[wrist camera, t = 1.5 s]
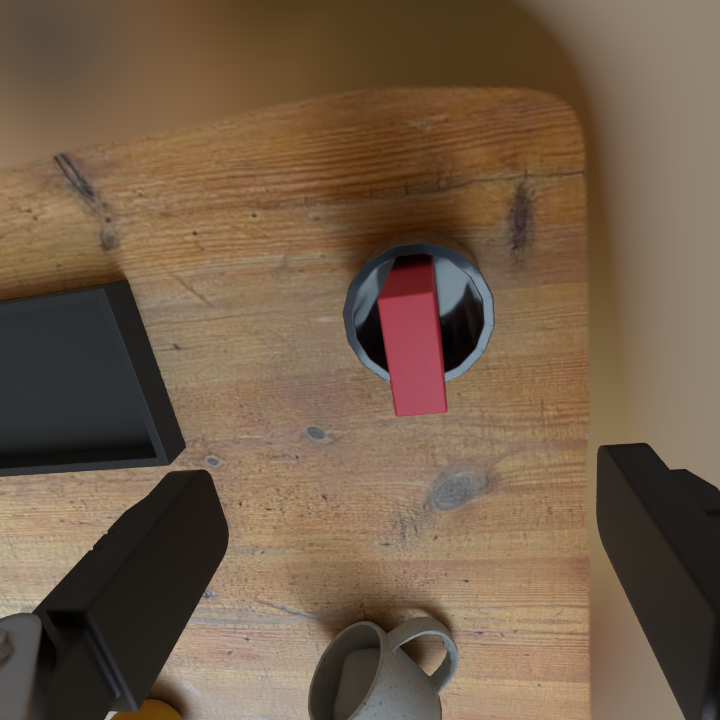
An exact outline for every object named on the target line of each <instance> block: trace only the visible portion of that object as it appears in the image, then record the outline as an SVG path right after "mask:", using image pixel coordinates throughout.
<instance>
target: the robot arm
mask: <svg viewBox="0 0 720 720" xmlns="http://www.w3.org/2000/svg"><path fill="white" fill-rule="evenodd" d="M596 505H597V506H596V515H597V524H598V530H599V534H600V538H601V541H602V544H603V546H604V549H605V551H606V553H607V555H608V557H609V559H610V562H611V564H612V565H613V568H614V570H615V572H616V574H617V576H618V578H619V580H620V583H621V585H622V587H623V589H624V591H625V593H626V595H627V597H628V599H629V601H630V604H631V605H632V607H633V610H634V612H635V614H636V616H637V618H638V620H639V623H640V624H641V627H642V629H643V631H644V633H645V635H646V637H647V639H648V641H649V644H650V646H651V648H652V650H653V652H654V654H655V656H656V658H657V660H658V662H659V665H660V667H661V669H662V671H663V673H664V675H665V677H666V679H667V681H668V684H669V686H670V688H671V690H672V692H673V694H674V696H675V698H676V700H677V702H678V705H679V707H680V709H681V711H682V713H683V715H684V717H685V719H686V720H720V491H719V490H718V488H717V487H715V486H713V485H712V484H710V483H708V482H706V481H705V480H703V479H701V478H700V477H698V476H696V475H695V474H693V473H691V472H689V471H688V470H686V469H676V470H670V469H669V468H668V467H667V466H666V465H665V463H664V462H663V461H662V460H661V459H660V457H659V456H658V455H657V454H656V453H655V451H654V450H653V449H652V448H651V447H650V446H649V445H648V444H646V443H633V444H618V445H603V446H600V447H599V449H598V454H597V502H596ZM228 539H229V531H228V525H227V522H226V519H225V516H224V513H223V510H222V507H221V504H220V501H219V498H218V495H217V492H216V489H215V486H214V483H213V480H212V477H211V475H210V474H209V472H208V471H206V470H186V471H172V472H170V473H168V474H167V475H166V476H165V477H164V478H163V479H162V480H161V481H160V482H159V483H158V485H157V486H156V487H155V488H154V489H153V490H152V491H151V492H150V493H149V495H148V496H147V497H145V498H144V499H142V500H141V501H139V502H138V503H137V504H135V505H134V506H132V507H131V508H130V509H128V510H127V511H125V512H124V513H123V514H122V516H121V517H120V518H119V519H118V520H117V521H116V522H115V523H114V524H113V525H112V526H111V527H110V528H109V530H108V533H107V534H104V535H103V536H102V537H101V538H100V539H99V540H98V541H97V543H96V544H95V545H94V546H93V550H89V551H88V552H87V553H86V554H85V556H84V557H83V558H82V559H81V560H80V561H79V562H78V563H77V564H76V565H75V566H74V567H73V569H72V570H71V571H70V572H69V573H68V574H67V575H66V576H65V577H64V578H63V579H62V580H61V582H60V583H59V584H58V585H57V586H56V587H55V588H54V589H53V590H52V591H51V592H50V593H49V595H48V596H47V597H46V598H45V599H44V600H43V601H42V602H41V603H40V604H39V605H38V606H37V607H36V609H35V610H34V611H33V612H32V613H18V614H13V615H10V616H6V617H4V618H1V619H0V720H104V719H105V718H106V716H107V714H108V713H109V711H117V712H135V713H138V712H139V710H140V708H141V706H142V704H143V703H144V701H145V699H146V697H147V695H148V693H149V692H150V690H151V688H152V686H153V684H154V683H155V681H156V679H157V677H158V675H159V673H160V672H161V670H162V668H163V666H164V664H165V663H166V661H167V659H168V657H169V655H170V653H171V652H172V650H173V648H174V646H175V644H176V643H177V641H178V639H179V637H180V635H181V633H182V632H183V630H184V628H185V626H186V624H187V623H188V621H189V619H190V617H191V615H192V613H193V612H194V610H195V608H196V606H197V604H198V603H199V601H200V599H201V597H202V595H203V593H204V592H205V590H206V588H207V586H208V584H209V583H210V581H211V579H212V577H213V575H214V573H215V572H216V570H217V568H218V566H219V564H220V563H221V561H222V559H223V557H224V555H225V553H226V550H227V546H228Z"/></svg>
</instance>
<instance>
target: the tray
mask: <svg viewBox="0 0 720 720" xmlns="http://www.w3.org/2000/svg"><path fill="white" fill-rule="evenodd" d="M185 448H186V446H185V443H184V440H183V438H182V435H181V432H180V429H179V426H178V423H177V420H176V418H175V415H174V412H173V409H172V406H171V403H170V401H169V398H168V395H167V392H166V389H165V386H164V383H163V381H162V378H161V375H160V372H159V369H158V366H157V363H156V361H155V358H154V355H153V352H152V349H151V346H150V343H149V341H148V338H147V335H146V332H145V329H144V326H143V323H142V321H141V318H140V315H139V312H138V309H137V306H136V303H135V301H134V298H133V295H132V292H131V289H130V286H129V283H128V281H127V280H124V281H118V282H112V283H106V284H100V285H93V286H87V287H81V288H75V289H68V290H62V291H56V292H50V293H44V294H37V295H31V296H25V297H19V298H12V299H6V300H0V477H5V476H20V475H34V474H49V473H64V472H79V471H94V470H108V469H123V468H138V467H153V466H167V465H170V464H171V463H172V462H173V461H174V460H175V459H176V458H177V456H178V455H179V454H180V453H181V452H182V451H183V450H184V449H185Z"/></svg>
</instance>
